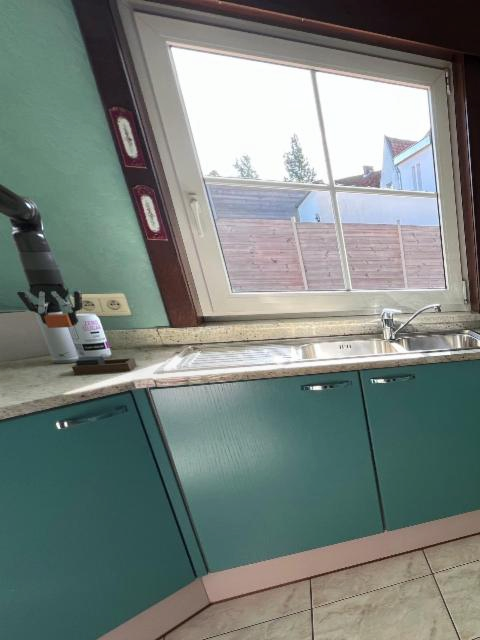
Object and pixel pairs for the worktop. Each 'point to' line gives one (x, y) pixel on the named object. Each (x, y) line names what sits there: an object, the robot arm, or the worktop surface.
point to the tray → (106, 367)
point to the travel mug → (58, 338)
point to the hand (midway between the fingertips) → (62, 324)
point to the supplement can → (90, 336)
